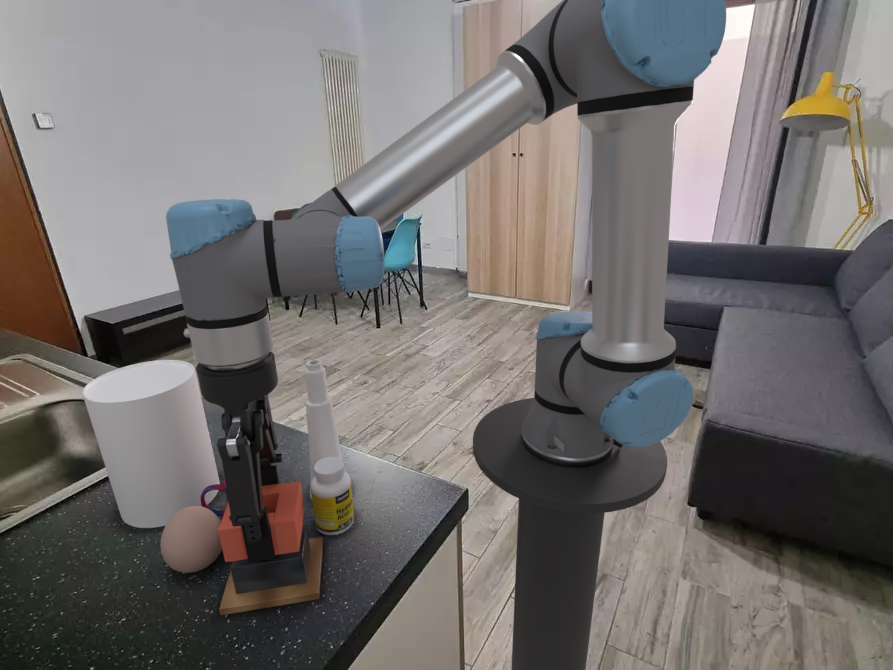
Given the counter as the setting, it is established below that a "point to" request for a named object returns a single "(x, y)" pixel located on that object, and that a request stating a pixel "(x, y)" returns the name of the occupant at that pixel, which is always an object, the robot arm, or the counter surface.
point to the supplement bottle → (332, 496)
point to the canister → (152, 439)
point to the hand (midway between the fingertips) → (267, 532)
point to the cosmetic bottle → (320, 416)
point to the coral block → (282, 517)
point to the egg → (191, 539)
